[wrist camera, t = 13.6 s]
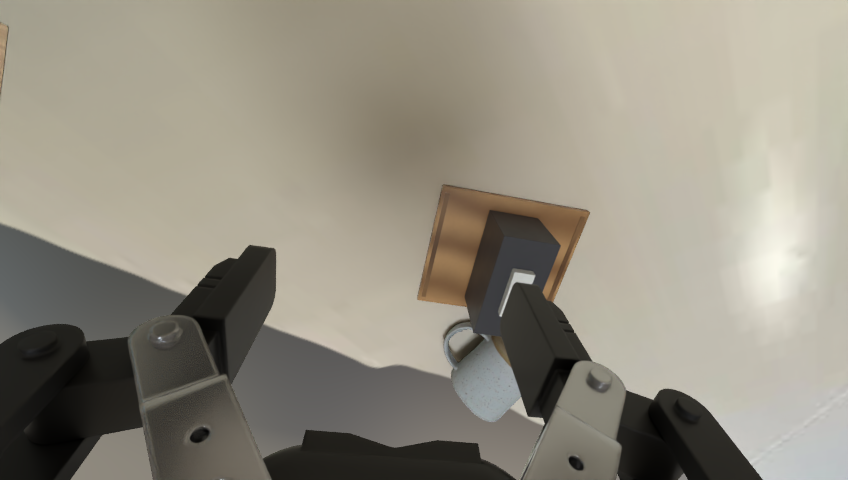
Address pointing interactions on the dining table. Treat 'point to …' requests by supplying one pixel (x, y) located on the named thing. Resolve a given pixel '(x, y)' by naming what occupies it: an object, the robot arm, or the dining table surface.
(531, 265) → the tissue box
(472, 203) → the wooden cutting board
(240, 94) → the dining table surface
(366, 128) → the dining table surface
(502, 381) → the ceramic mug
